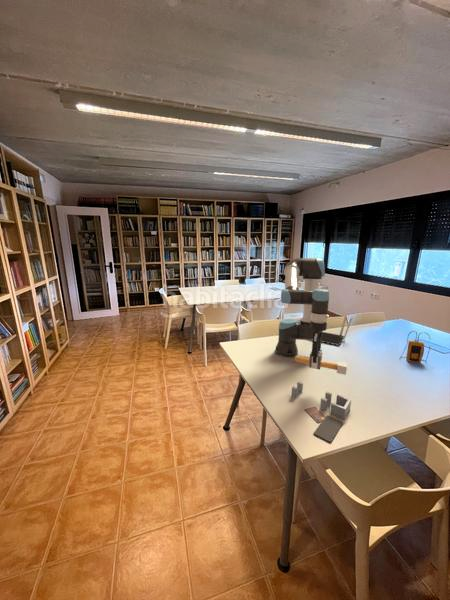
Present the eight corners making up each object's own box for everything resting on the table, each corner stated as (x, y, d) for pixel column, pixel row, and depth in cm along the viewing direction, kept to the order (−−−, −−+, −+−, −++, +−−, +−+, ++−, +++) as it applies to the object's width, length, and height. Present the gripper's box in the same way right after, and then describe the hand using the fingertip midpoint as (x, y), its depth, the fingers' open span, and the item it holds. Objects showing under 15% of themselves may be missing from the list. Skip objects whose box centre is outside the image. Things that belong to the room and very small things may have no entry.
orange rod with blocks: (293, 364, 126) (294, 351, 124) (296, 360, 130) (296, 347, 129) (345, 375, 114) (347, 361, 113) (346, 370, 119) (347, 357, 117)
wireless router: (300, 338, 196) (302, 314, 192) (309, 330, 215) (310, 308, 211) (346, 348, 177) (349, 321, 173) (352, 338, 196) (354, 314, 192)
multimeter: (423, 357, 161) (428, 328, 157) (428, 364, 152) (433, 333, 148) (396, 353, 167) (400, 325, 163) (399, 360, 158) (404, 330, 154)
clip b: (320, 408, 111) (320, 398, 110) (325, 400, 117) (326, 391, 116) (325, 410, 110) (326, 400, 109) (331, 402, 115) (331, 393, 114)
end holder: (330, 413, 108) (331, 403, 107) (336, 404, 115) (337, 394, 113) (344, 419, 104) (345, 409, 103) (350, 409, 111) (351, 399, 110)
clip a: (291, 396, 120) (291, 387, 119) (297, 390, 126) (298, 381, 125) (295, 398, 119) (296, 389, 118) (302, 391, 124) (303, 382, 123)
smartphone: (343, 422, 102) (331, 442, 91) (343, 423, 103) (330, 444, 92) (327, 414, 107) (312, 433, 96) (326, 416, 107) (312, 435, 96)
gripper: (324, 327, 109) (320, 375, 114) (329, 317, 124) (325, 360, 129) (306, 324, 113) (303, 371, 117) (313, 315, 128) (310, 357, 133)
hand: (315, 365), depth 123 cm, fingers closed on orange rod with blocks, 5 cm apart
